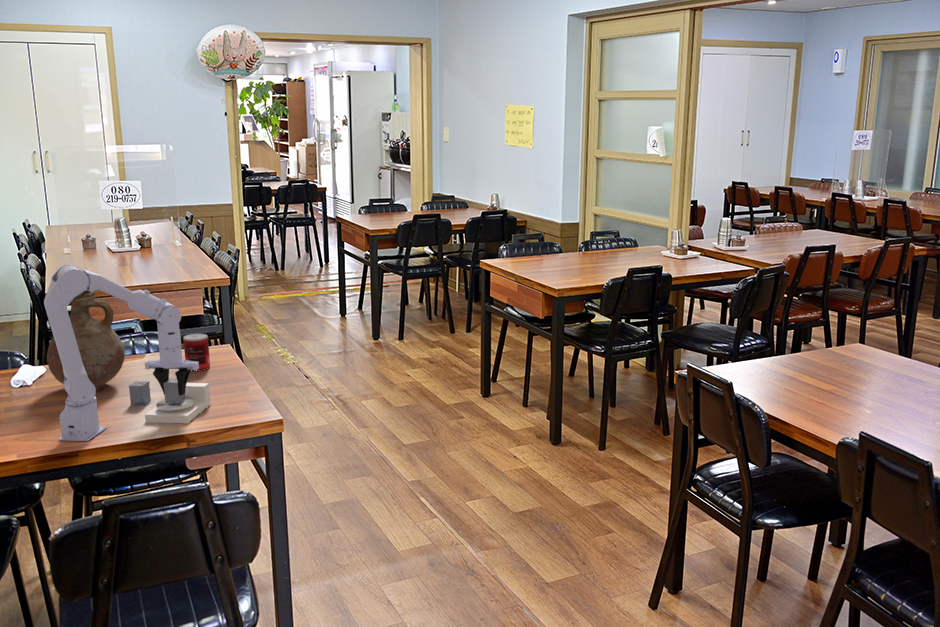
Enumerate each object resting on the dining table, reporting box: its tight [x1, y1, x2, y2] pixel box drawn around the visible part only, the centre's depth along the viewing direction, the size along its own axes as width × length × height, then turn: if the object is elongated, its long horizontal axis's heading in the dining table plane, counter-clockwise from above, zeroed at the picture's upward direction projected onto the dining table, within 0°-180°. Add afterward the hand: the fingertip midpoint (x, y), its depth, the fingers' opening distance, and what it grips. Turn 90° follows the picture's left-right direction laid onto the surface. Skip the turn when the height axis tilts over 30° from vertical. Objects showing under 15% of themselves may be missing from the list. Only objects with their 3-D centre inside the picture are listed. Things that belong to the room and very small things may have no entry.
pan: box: [155, 397, 195, 411], centre depth 220 cm, size 10×10×1 cm
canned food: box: [182, 333, 211, 372], centre depth 263 cm, size 8×8×11 cm
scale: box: [144, 382, 211, 424], centre depth 221 cm, size 15×12×6 cm
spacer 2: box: [163, 377, 186, 404], centre depth 219 cm, size 4×4×6 cm
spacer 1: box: [128, 380, 152, 407], centre depth 230 cm, size 4×4×6 cm
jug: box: [46, 289, 126, 391], centre depth 242 cm, size 22×22×30 cm
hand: (174, 394), depth 219 cm, fingers closed on spacer 2, 4 cm apart
